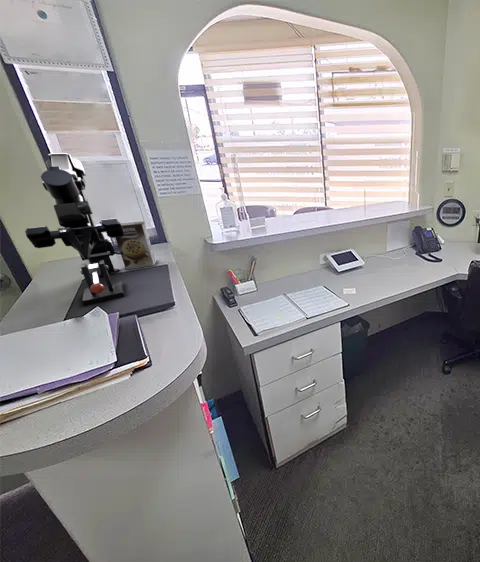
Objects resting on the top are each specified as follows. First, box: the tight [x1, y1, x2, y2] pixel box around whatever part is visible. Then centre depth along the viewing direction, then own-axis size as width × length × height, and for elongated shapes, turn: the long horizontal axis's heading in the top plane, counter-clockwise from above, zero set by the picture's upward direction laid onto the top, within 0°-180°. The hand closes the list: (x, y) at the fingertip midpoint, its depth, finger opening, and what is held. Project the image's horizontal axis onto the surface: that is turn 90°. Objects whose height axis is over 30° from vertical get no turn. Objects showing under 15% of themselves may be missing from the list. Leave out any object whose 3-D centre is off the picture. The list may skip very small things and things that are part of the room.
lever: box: [87, 263, 104, 294], centre depth 86 cm, size 14×3×3 cm, turn 40°
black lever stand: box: [79, 260, 125, 306], centre depth 91 cm, size 12×9×10 cm
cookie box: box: [114, 221, 157, 270], centre depth 116 cm, size 9×6×16 cm
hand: (86, 258), depth 82 cm, fingers closed
